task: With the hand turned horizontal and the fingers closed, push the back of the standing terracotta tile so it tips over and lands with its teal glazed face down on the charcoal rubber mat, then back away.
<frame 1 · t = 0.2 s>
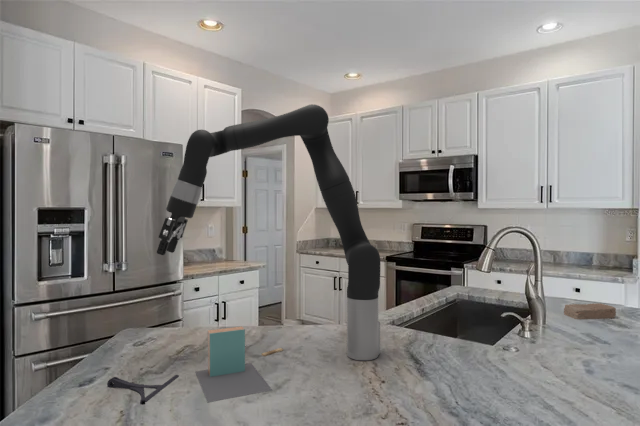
hand: (165, 253, 119), 31 cm above the countertop, tool tilted 20°, fingers open, 8 cm apart
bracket: (136, 391, 102), on the countertop
tile: (226, 371, 111), point 1 cm above the countertop, touching mat
turner: (262, 357, 123), on the countertop
mat: (231, 382, 105), on the countertop
brick: (589, 317, 168), on the countertop
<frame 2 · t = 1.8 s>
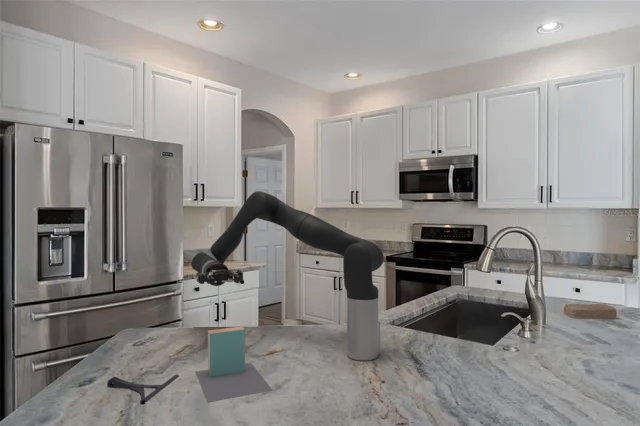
hand: (225, 280, 124), 22 cm above the countertop, tool horizontal, fingers open, 6 cm apart
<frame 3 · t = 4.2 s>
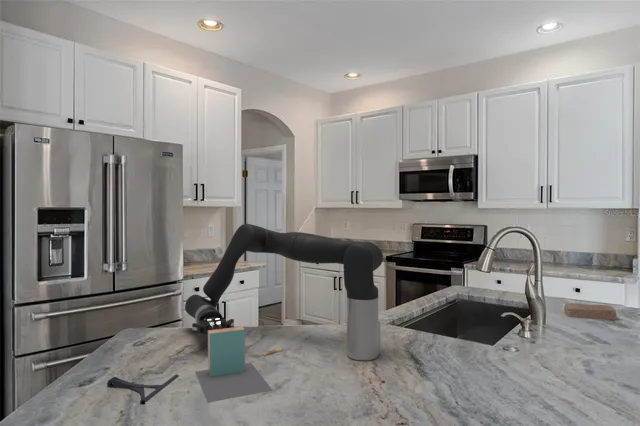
hand: (219, 333, 119), 8 cm above the countertop, tool horizontal, fingers closed
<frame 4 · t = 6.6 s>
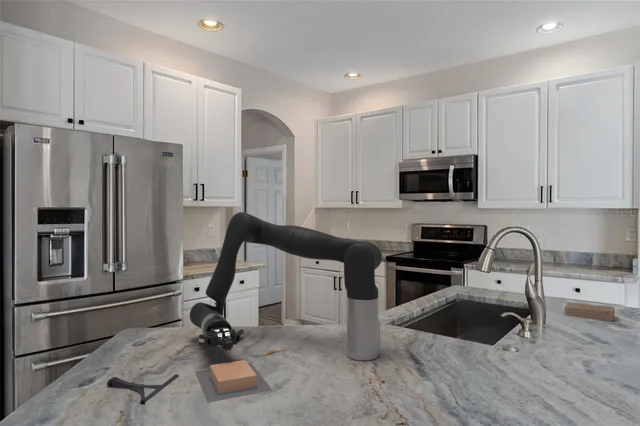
hand: (228, 346, 108), 8 cm above the countertop, tool horizontal, fingers closed
tile: (227, 368, 109), point 2 cm above the countertop, tilted 90°, touching mat
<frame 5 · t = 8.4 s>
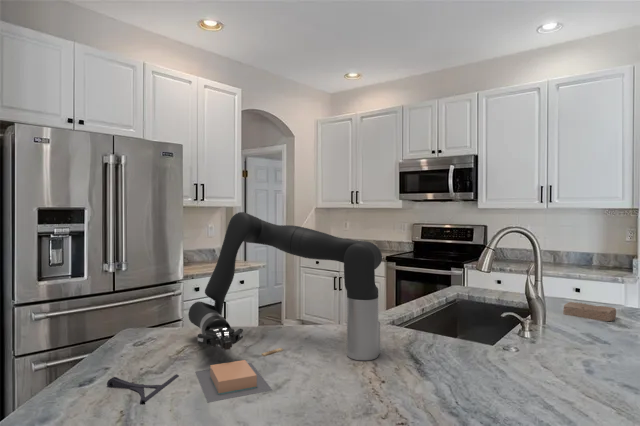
hand: (227, 345, 109), 8 cm above the countertop, tool horizontal, fingers closed
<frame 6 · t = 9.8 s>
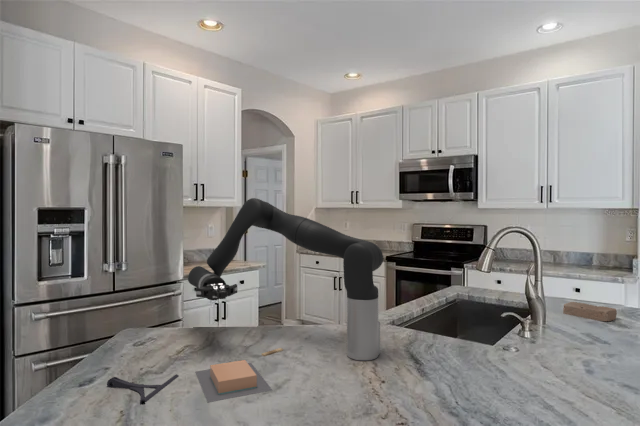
hand: (223, 295, 120), 19 cm above the countertop, tool horizontal, fingers closed
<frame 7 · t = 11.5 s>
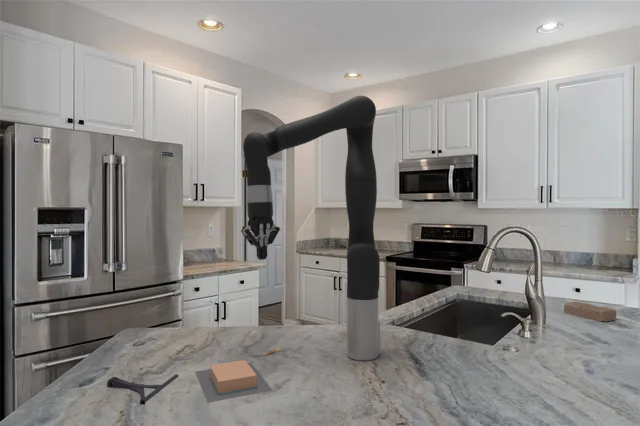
hand: (262, 259, 126), 28 cm above the countertop, tool pointing down, fingers closed
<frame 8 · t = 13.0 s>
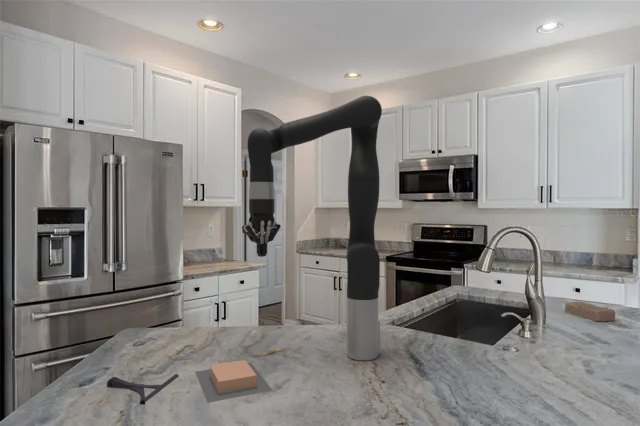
hand: (262, 256, 126), 29 cm above the countertop, tool pointing down, fingers closed
at the end: tile tilted 90°; tile inside the target area on the mat (4.3 cm from its centre), point 2.1 cm above the mat's base; tile touching mat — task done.
